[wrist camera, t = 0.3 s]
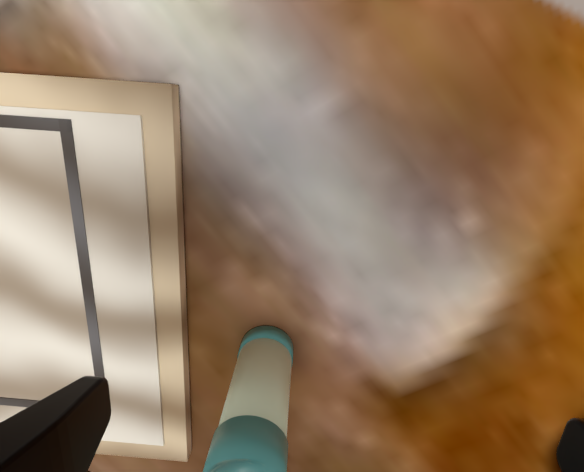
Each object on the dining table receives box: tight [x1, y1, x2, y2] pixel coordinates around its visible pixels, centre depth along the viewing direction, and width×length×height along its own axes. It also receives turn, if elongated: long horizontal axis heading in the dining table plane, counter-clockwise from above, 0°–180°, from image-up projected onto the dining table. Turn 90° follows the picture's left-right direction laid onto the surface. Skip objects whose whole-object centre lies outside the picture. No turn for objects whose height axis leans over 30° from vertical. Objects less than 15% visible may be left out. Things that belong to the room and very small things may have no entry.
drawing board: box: [0, 73, 192, 462], centre depth 22 cm, size 24×18×1 cm
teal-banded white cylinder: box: [203, 326, 293, 472], centre depth 19 cm, size 3×3×9 cm
